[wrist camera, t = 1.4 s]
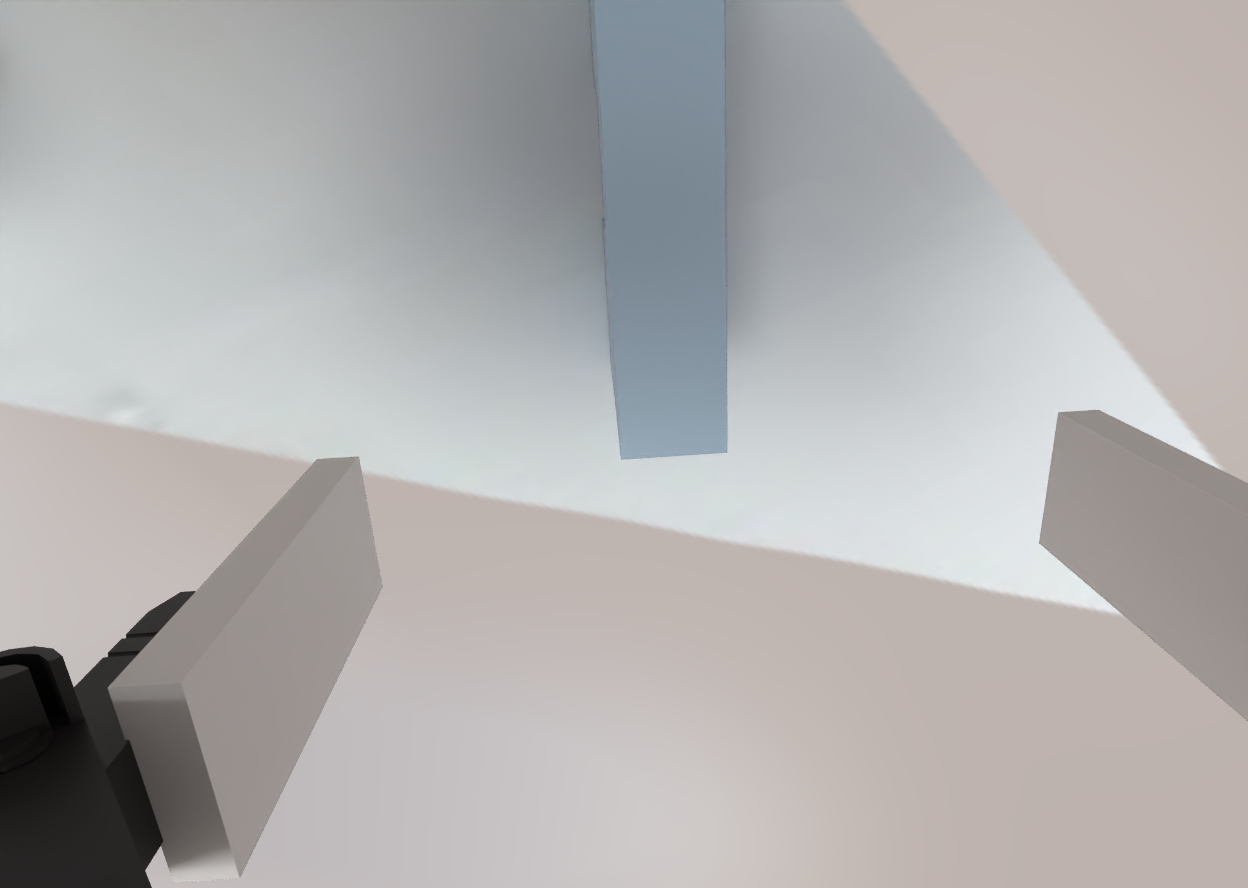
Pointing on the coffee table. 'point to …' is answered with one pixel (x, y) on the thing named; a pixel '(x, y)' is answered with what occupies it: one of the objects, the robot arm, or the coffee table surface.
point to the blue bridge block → (664, 219)
